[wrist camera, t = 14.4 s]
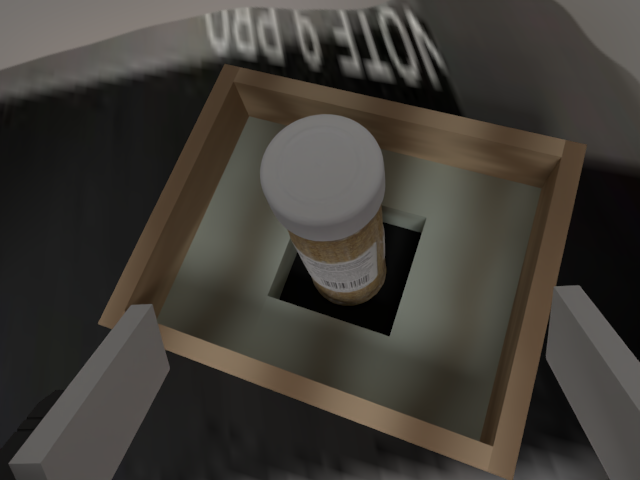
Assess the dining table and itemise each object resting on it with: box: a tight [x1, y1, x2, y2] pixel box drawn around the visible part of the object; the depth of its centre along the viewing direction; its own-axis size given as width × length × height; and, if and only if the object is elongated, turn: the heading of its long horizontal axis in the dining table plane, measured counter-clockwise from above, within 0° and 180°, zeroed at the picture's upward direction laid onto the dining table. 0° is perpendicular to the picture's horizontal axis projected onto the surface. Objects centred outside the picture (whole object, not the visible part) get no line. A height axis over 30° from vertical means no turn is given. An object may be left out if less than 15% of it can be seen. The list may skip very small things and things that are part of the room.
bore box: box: [98, 64, 587, 480], centre depth 28 cm, size 20×16×6 cm
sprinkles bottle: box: [260, 114, 386, 306], centre depth 24 cm, size 5×5×13 cm
